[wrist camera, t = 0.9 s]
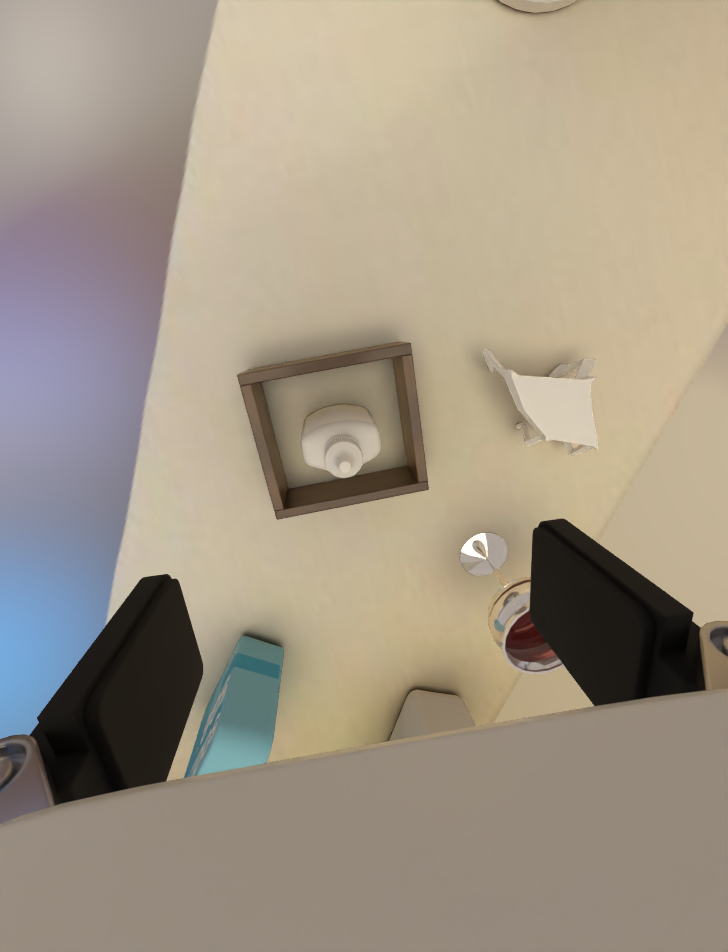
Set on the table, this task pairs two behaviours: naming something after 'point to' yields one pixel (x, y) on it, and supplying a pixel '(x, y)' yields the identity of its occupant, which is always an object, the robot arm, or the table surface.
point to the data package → (240, 711)
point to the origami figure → (554, 404)
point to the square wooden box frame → (347, 488)
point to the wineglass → (509, 608)
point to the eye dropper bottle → (340, 439)
